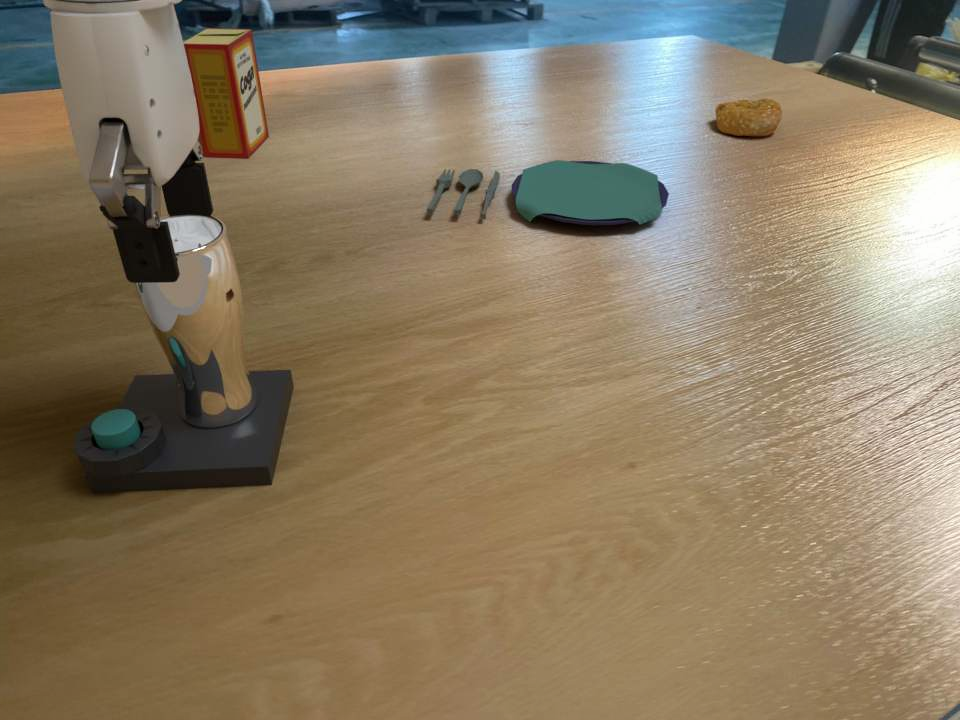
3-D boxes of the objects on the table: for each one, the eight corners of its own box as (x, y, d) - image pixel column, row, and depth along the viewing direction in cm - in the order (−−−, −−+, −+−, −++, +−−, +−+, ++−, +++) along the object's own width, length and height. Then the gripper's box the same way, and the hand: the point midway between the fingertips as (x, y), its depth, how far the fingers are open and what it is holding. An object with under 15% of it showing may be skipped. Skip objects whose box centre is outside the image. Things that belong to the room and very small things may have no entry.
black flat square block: (75, 498, 55) (60, 462, 53) (129, 393, 65) (118, 359, 63) (271, 489, 56) (263, 454, 54) (294, 386, 66) (288, 353, 64)
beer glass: (191, 377, 64) (146, 211, 55) (273, 378, 64) (241, 212, 55) (160, 431, 58) (104, 255, 50) (250, 433, 58) (210, 257, 49)
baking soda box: (248, 158, 111) (227, 42, 101) (204, 156, 111) (179, 41, 102) (269, 136, 118) (251, 26, 109) (228, 135, 119) (207, 25, 110)
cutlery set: (672, 242, 89) (675, 224, 87) (419, 226, 92) (418, 209, 91) (662, 177, 105) (664, 161, 103) (447, 166, 108) (446, 150, 107)
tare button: (91, 452, 55) (84, 436, 54) (105, 425, 57) (99, 409, 56) (133, 450, 55) (128, 434, 54) (146, 423, 57) (140, 407, 56)
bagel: (750, 115, 127) (756, 86, 124) (792, 136, 118) (799, 105, 116) (698, 121, 124) (703, 92, 122) (737, 143, 116) (743, 112, 113)
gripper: (94, -51, 50) (154, 195, 60) (-34, 2, 36) (72, 312, 46) (211, -49, 50) (251, 195, 60) (130, 3, 36) (200, 310, 46)
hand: (174, 245), depth 53 cm, fingers open, 9 cm apart
